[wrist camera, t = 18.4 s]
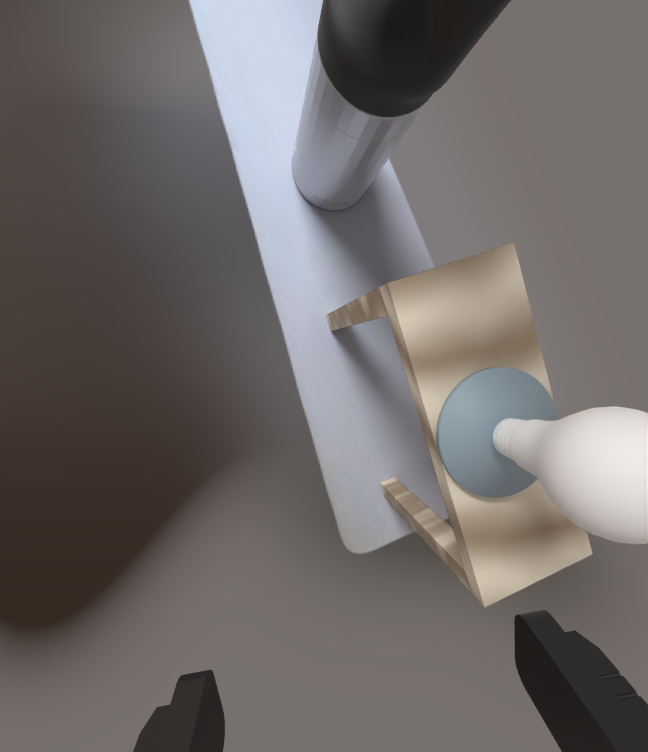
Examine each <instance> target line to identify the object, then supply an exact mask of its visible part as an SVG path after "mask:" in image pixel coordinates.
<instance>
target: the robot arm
mask: <svg viewBox="0 0 648 752" xmlns="http://www.w3.org/2000/svg"><path fill="white" fill-rule="evenodd" d="M510 1H511V0H323V4H322V10H321V15H320V20H319V26H318V32H317V37H316V42H315V47H314V52H313V58H312V63H311V68H310V73H309V78H308V83H307V88H306V93H305V98H304V103H303V109H302V114H301V119H300V124H299V129H298V134H297V138H296V143H295V148H294V153H293V159H292V172H293V177H294V180H295V183H296V185H297V187H298V189H299V191H300V192H301V193H302V195H303V196H304V197H305V198H306V199H307V200H308V201H309V202H311V203H312V204H314V205H315V206H317V207H319V208H322V209H326V210H336V211H337V210H342V209H346V208H348V207H350V206H352V205H354V204H355V203H356V202H358V200H359V199H360V198H361V197H362V196H363V194H364V193H365V192H366V190H367V189H368V187H369V186H370V184H371V183H372V182H373V180H374V179H375V177H376V176H377V174H378V173H379V171H380V170H381V169H382V167H383V166H384V164H385V163H386V161H387V160H388V158H389V157H390V155H391V154H392V152H393V151H394V149H395V148H396V146H397V145H398V144H399V142H400V141H401V139H402V138H403V136H404V135H405V133H406V132H407V131H408V129H409V128H410V126H411V125H412V123H413V122H414V120H415V119H416V117H417V116H418V114H419V113H420V111H421V110H422V108H423V107H424V105H425V104H426V102H427V101H428V100H429V98H430V97H431V96H432V94H433V93H434V92H436V91H437V90H438V89H439V88H441V87H442V86H443V85H444V84H445V83H446V82H447V80H448V79H449V78H450V77H451V76H452V74H453V73H454V72H455V70H456V69H457V67H458V66H459V65H460V63H461V62H462V61H463V59H464V58H465V57H466V56H467V54H468V53H469V51H470V50H471V49H472V48H473V47H474V45H475V44H476V43H477V42H478V40H479V39H480V38H481V36H482V35H483V34H484V33H485V31H486V30H487V29H488V28H489V27H490V25H491V24H492V23H493V22H494V20H495V19H496V18H497V17H498V16H499V14H500V13H501V12H502V11H503V9H504V8H505V7H506V6H507V5H508V3H509V2H510ZM515 662H516V667H517V670H518V673H519V676H520V678H521V681H522V683H523V685H524V687H525V689H526V690H527V693H528V694H529V696H530V698H531V699H532V701H533V703H534V705H535V706H536V708H537V710H538V711H539V713H540V715H541V716H542V718H543V720H544V722H545V723H546V725H547V727H548V728H549V730H550V732H551V734H552V735H553V737H554V739H555V741H556V742H557V744H558V746H559V747H560V749H561V751H562V752H648V705H647V703H646V702H645V701H644V700H643V699H642V698H641V697H639V696H638V695H637V693H636V691H635V690H634V688H633V687H632V686H631V685H630V684H629V682H627V680H626V679H625V678H624V677H623V676H621V675H620V673H619V671H618V670H617V668H616V667H615V666H614V665H613V664H612V663H611V662H610V660H609V659H608V658H607V657H606V656H605V654H604V653H603V652H602V651H601V650H600V649H599V648H598V647H597V646H595V645H594V644H593V643H591V642H590V641H589V640H587V639H586V638H584V637H583V636H582V635H580V634H579V633H578V632H576V631H570V632H564V631H563V629H562V628H561V627H560V626H559V624H558V623H557V622H556V621H555V619H554V618H553V617H552V616H551V615H550V614H549V613H548V612H547V611H545V610H541V611H535V612H530V613H524V614H519V615H516V616H515ZM224 737H225V720H224V712H223V708H222V704H221V700H220V696H219V693H218V689H217V685H216V682H215V677H214V674H213V671H212V670H207V671H201V672H196V673H190V674H185V675H181V676H180V678H179V679H178V682H177V684H176V688H175V691H174V694H173V697H172V701H171V704H170V705H166V706H161V707H157V708H156V710H155V711H154V713H153V714H152V716H151V717H150V719H149V721H148V722H147V723H146V725H145V727H144V728H143V730H142V731H141V733H140V735H139V737H138V740H137V743H136V746H135V748H134V751H133V752H223V747H224Z"/></svg>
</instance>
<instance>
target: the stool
mask: <svg viewBox="0 0 648 752" xmlns="http://www.w3.org/2000/svg"><path fill="white" fill-rule="evenodd" d="M384 316H388V317H389V320H390V323H391V327H392V330H393V333H394V337H395V340H396V343H397V346H398V350H399V353H400V356H401V360H402V363H403V366H404V370H405V373H406V376H407V380H408V383H409V386H410V389H411V393H412V396H413V399H414V403H415V406H416V409H417V413H418V416H419V419H420V422H421V426H422V429H423V432H424V436H425V439H426V442H427V446H428V449H429V452H430V455H431V459H432V462H433V465H434V469H435V472H436V475H437V479H438V482H439V485H440V489H441V492H442V495H443V498H444V502H445V505H446V508H447V512H448V515H449V518H450V521H451V525H452V527H450V526H449V525H448V524H447V523H446V522H445V521H444V520H443V519H442V518H440V517H439V516H438V515H437V514H436V513H435V512H434V511H433V510H431V509H430V508H429V507H428V506H427V505H426V504H425V503H424V502H422V501H421V500H420V499H419V498H418V497H417V496H416V495H415V494H413V493H412V492H411V491H410V490H409V489H408V488H407V487H406V486H404V485H403V484H402V483H401V482H400V481H399V480H398V479H397V478H395V477H392V478H389V479H387V480H384V481H382V482H380V484H381V487H382V490H383V493H384V496H385V498H386V499H387V500H388V501H389V502H390V503H391V504H392V505H393V506H394V508H395V509H396V510H397V511H398V512H399V513H400V514H401V515H402V516H403V518H404V519H405V520H406V521H407V522H408V523H409V524H410V525H411V526H412V528H413V529H414V530H415V531H416V532H417V533H418V534H419V535H420V536H421V537H422V539H423V540H424V541H425V542H426V543H427V544H428V545H429V546H430V547H431V549H433V551H434V552H435V553H436V554H437V555H438V556H439V557H440V558H441V560H442V561H443V562H444V563H445V564H446V565H447V566H448V567H449V569H450V570H451V571H452V572H453V573H454V574H455V575H456V576H457V577H458V578H459V580H461V582H462V583H463V584H464V585H465V586H466V587H467V589H468V590H469V591H470V592H471V593H472V594H473V595H474V596H475V597H476V599H477V600H478V601H479V602H480V603H481V604H482V605H483V606H484V607H487V606H489V605H491V604H493V603H495V602H497V601H499V600H501V599H503V598H505V597H507V596H509V595H511V594H513V593H515V592H517V591H519V590H521V589H523V588H525V587H527V586H529V585H531V584H533V583H535V582H537V581H539V580H541V579H543V578H545V577H547V576H549V575H551V574H553V573H555V572H557V571H559V570H561V569H563V568H565V567H567V566H569V565H571V564H573V563H575V562H578V561H579V560H582V559H584V558H585V557H588V556H589V555H591V554H592V550H591V547H590V543H589V539H588V535H587V531H586V530H584V529H582V528H580V527H579V526H577V525H576V524H574V523H573V522H571V521H570V520H569V519H568V518H567V517H566V516H565V515H563V514H562V513H561V512H560V511H559V510H558V509H557V508H556V506H555V505H554V503H553V502H552V500H551V499H550V498H549V496H548V495H547V493H546V491H545V490H544V488H543V487H542V485H541V483H540V481H539V480H538V479H537V478H536V477H535V476H534V475H533V474H531V473H530V472H529V471H527V470H525V469H523V468H521V467H520V466H519V465H518V464H517V463H516V462H515V461H514V460H512V459H510V458H508V457H506V456H504V455H503V454H501V453H499V452H498V451H497V450H496V448H495V447H494V444H493V432H494V429H495V427H496V426H497V425H498V424H499V423H500V422H501V421H503V420H504V419H508V418H514V419H522V420H527V421H528V420H533V419H538V420H544V421H556V420H558V416H557V412H556V408H555V404H554V400H553V396H552V392H551V388H550V384H549V380H548V377H547V372H546V368H545V365H544V361H543V356H542V352H541V349H540V345H539V341H538V337H537V333H536V329H535V325H534V321H533V317H532V313H531V309H530V305H529V301H528V297H527V293H526V289H525V285H524V281H523V277H522V274H521V269H520V265H519V261H518V257H517V254H516V250H515V246H514V243H511V244H508V245H505V246H502V247H499V248H495V249H492V250H489V251H486V252H483V253H480V254H477V255H473V256H470V257H467V258H464V259H461V260H458V261H455V262H452V263H448V264H445V265H442V266H439V267H436V268H433V269H430V270H427V271H423V272H420V273H417V274H414V275H411V276H408V277H405V278H402V279H398V280H395V281H392V282H389V283H387V284H385V285H383V286H381V287H379V288H377V289H375V290H373V291H371V292H369V293H367V294H365V295H363V296H362V297H360V298H358V299H356V300H354V301H352V302H350V303H348V304H346V305H344V306H342V307H340V308H339V309H337V310H335V311H333V312H331V313H329V314H327V315H326V317H327V320H328V323H329V327H330V330H331V331H333V330H337V329H341V328H344V327H348V326H352V325H355V324H359V323H363V322H366V321H370V320H373V319H377V318H381V317H384Z"/></svg>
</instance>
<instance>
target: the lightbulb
mask: <svg viewBox="0 0 648 752" xmlns="http://www.w3.org/2000/svg"><path fill="white" fill-rule="evenodd" d="M493 444H494V447H495V448H496V450H497V451H498V452H499V453H501V454H503V455H504V456H506V457H508V458H510V459H512V460H514V461H515V462H516V463H517V464H518V465H519V466H520V467H521V468H523V469H525V470H527V471H529V472H530V473H531V474H533V475H534V476H535V477H536V478H537V479H538V480H539V481H540V483H541V485H542V487H543V488H544V490H545V491H546V493H547V495H548V496H549V498H550V499H551V500H552V502H553V503H554V505H555V506H556V508H557V509H558V510H559V511H560V512H561V513H562V514H563V515H565V516H566V517H567V518H568V519H569V520H570V521H571V522H573V523H574V524H576V525H577V526H579V527H580V528H582V529H584V530H586V531H588V532H589V533H591V534H593V535H596V536H600V537H603V538H606V539H609V540H612V541H616V542H622V543H630V544H644V543H648V413H645V412H643V411H640V410H636V409H630V408H623V407H616V406H613V407H600V408H591V409H587V410H584V411H581V412H578V413H575V414H572V415H569V416H567V417H565V418H563V419H561V420H556V421H544V420H538V419H533V420H528V421H527V420H522V419H514V418H508V419H504V420H503V421H501V422H500V423H499V424H498V425H497V426H496V427H495V429H494V432H493Z"/></svg>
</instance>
